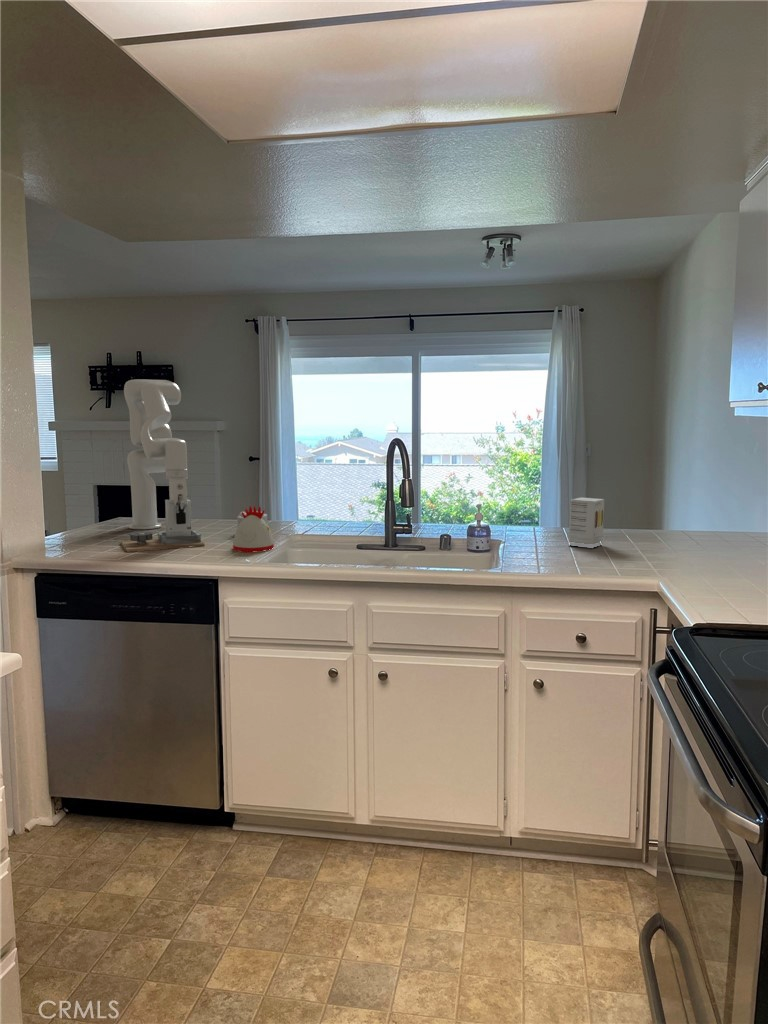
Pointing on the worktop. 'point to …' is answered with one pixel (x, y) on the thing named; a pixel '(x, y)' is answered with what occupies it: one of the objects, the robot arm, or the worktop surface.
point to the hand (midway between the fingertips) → (178, 522)
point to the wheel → (141, 536)
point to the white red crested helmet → (253, 533)
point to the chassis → (164, 542)
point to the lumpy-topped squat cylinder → (240, 517)
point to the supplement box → (586, 520)
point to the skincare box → (171, 525)
